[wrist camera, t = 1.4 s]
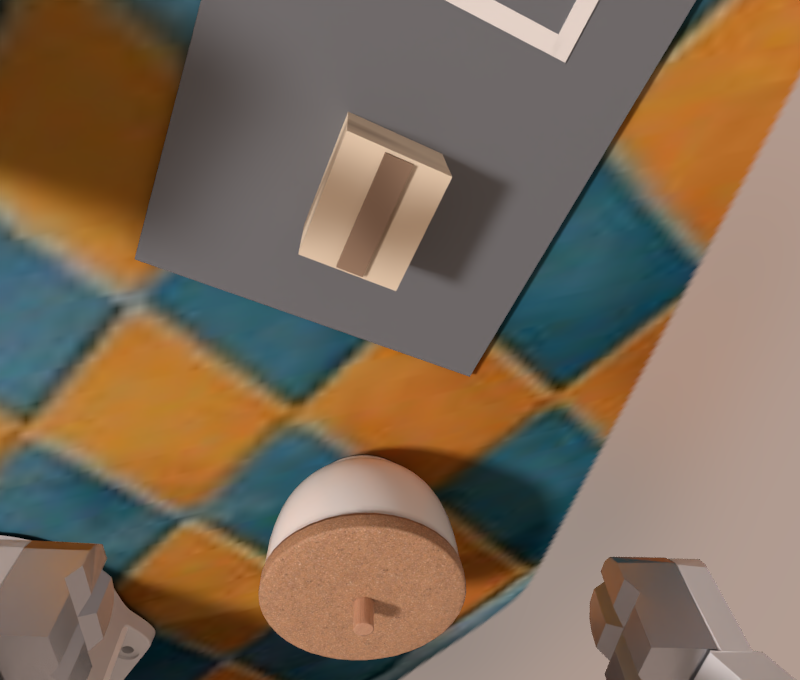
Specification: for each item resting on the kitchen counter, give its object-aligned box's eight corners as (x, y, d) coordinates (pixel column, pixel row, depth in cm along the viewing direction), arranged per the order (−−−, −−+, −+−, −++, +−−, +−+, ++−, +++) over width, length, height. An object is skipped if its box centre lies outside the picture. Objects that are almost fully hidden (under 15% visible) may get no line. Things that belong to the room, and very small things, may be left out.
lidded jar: (483, 471, 39) (515, 605, 31) (384, 570, 43) (390, 710, 35) (335, 395, 35) (328, 524, 27) (243, 511, 39) (214, 653, 31)
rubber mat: (468, 372, 35) (469, 377, 34) (137, 255, 30) (134, 260, 30) (815, -207, 22) (824, -211, 22) (346, -556, 18) (346, -569, 17)
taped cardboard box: (392, 258, 30) (396, 293, 27) (304, 224, 29) (297, 256, 26) (442, 153, 28) (452, 178, 25) (348, 111, 27) (346, 131, 24)
